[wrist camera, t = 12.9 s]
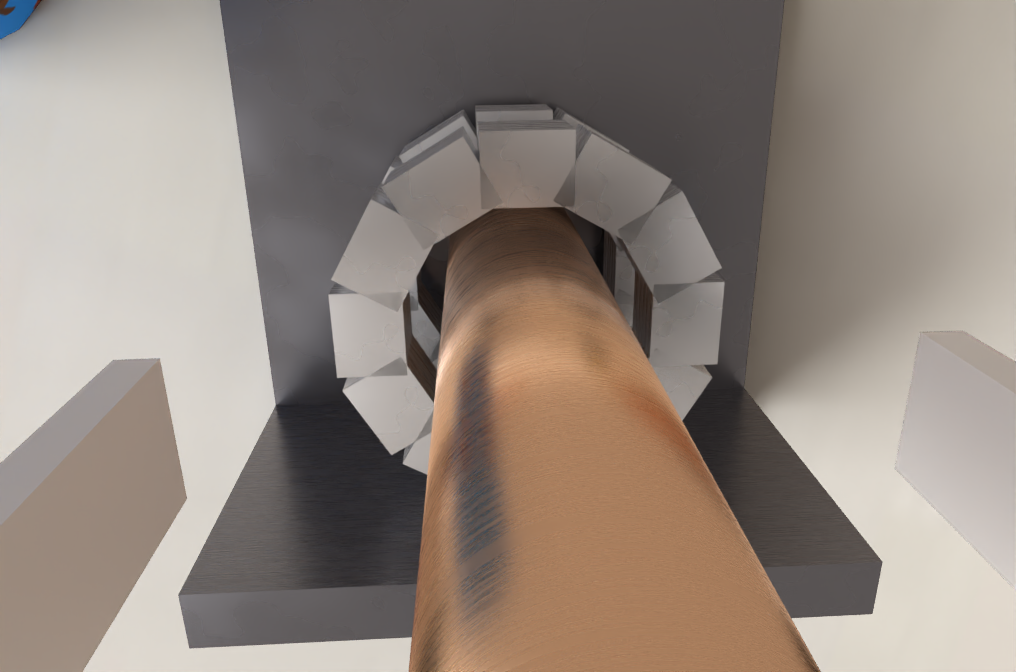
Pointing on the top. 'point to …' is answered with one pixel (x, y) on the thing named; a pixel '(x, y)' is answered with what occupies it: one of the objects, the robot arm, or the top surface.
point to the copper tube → (572, 485)
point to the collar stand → (423, 266)
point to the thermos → (14, 14)
